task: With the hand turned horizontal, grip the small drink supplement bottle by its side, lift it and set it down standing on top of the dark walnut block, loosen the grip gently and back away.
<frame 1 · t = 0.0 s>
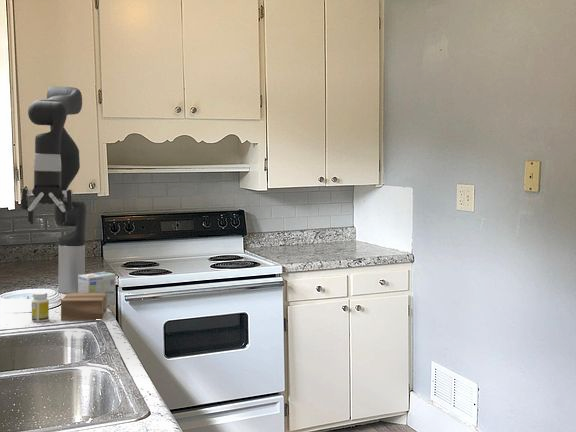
hand: (47, 224, 194), 29 cm above the worktop, tool pointing down, fingers open, 8 cm apart
walnut block: (84, 315, 205), on the worktop
light bulb box: (96, 306, 219), on the worktop
supplement bottle: (40, 321, 197), on the worktop
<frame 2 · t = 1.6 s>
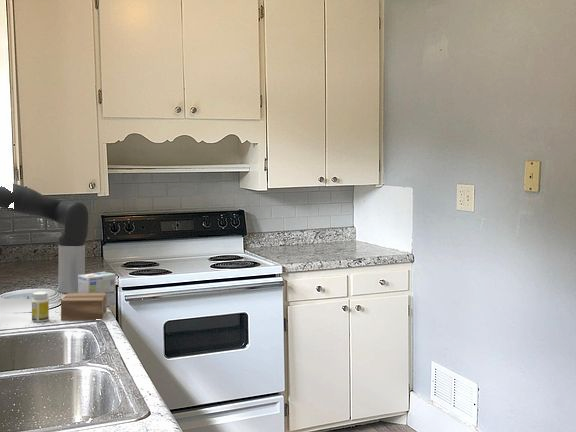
nothing on the worktop moved.
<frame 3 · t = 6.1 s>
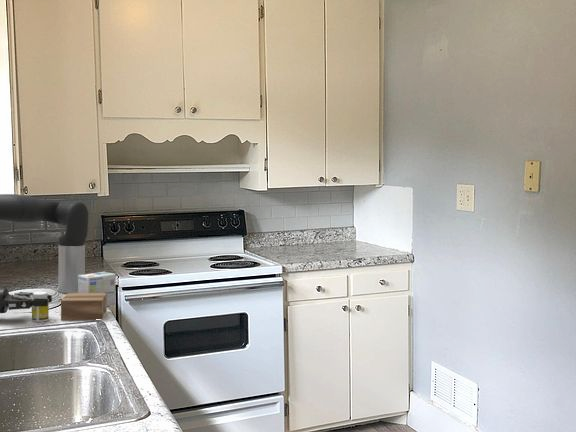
hand: (49, 300, 197), 6 cm above the worktop, tool horizontal, fingers closed on supplement bottle, 4 cm apart
supplement bottle: (40, 320, 197), on the worktop, touching gripper
everything else where it was.
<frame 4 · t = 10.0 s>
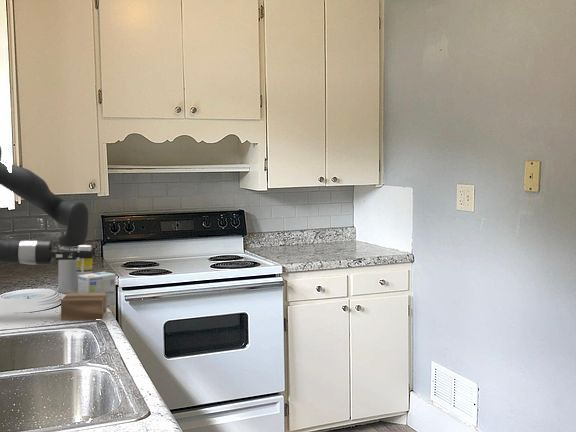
hand: (93, 253, 203), 20 cm above the worktop, tool horizontal, fingers closed on supplement bottle, 4 cm apart
supplement bottle: (84, 273, 203), point 13 cm above the worktop, touching gripper
everything else where it was.
when the fingers open (12 cm above the worktop, at t = 13.8 s): supplement bottle stays where it is, resting on walnut block.
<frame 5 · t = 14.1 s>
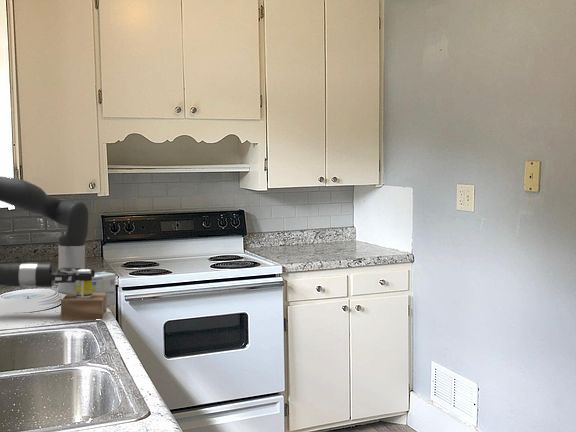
hand: (92, 275, 204), 13 cm above the worktop, tool horizontal, fingers open, 5 cm apart
supplement bottle: (84, 297, 204), point 6 cm above the worktop, touching walnut block
everything else where it was.
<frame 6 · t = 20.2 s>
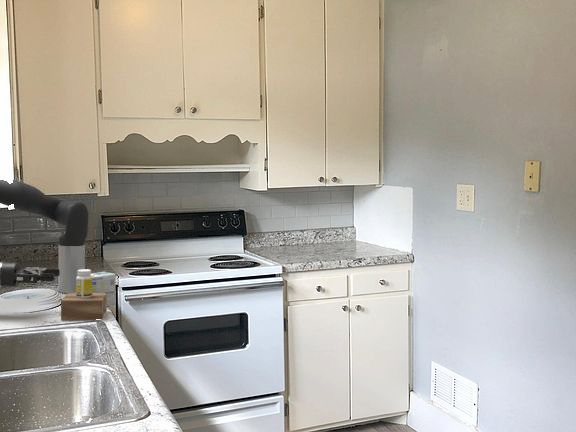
hand: (56, 275, 202), 13 cm above the worktop, tool horizontal, fingers open, 8 cm apart
nothing on the worktop moved.
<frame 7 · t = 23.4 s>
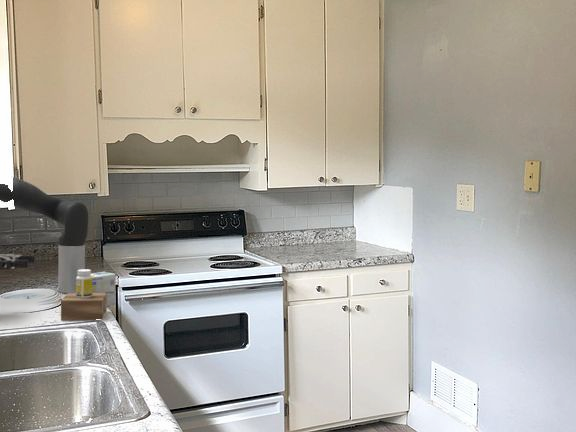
hand: (31, 261, 201), 17 cm above the worktop, tool horizontal, fingers open, 8 cm apart
nothing on the worktop moved.
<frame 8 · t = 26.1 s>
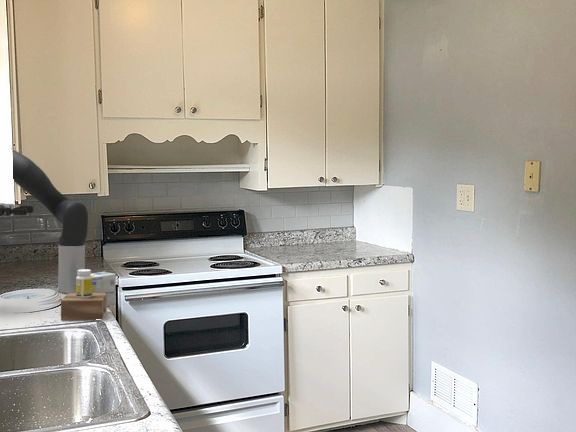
hand: (29, 210, 207), 32 cm above the worktop, tool horizontal, fingers open, 8 cm apart
nothing on the worktop moved.
at the end: supplement bottle inside the target area on the walnut block (0.2 cm from its centre), point 5.8 cm above the walnut block's base; supplement bottle tilted 0°; the gripper is holding nothing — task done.
